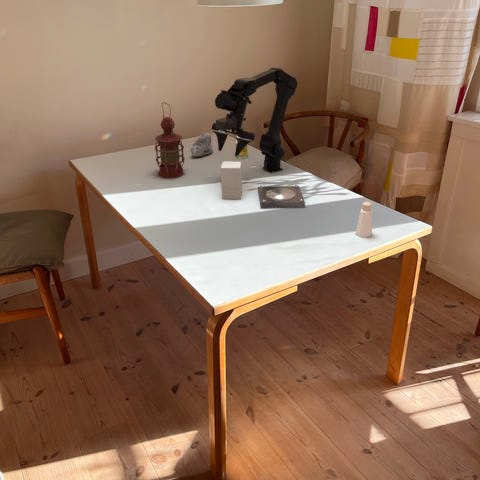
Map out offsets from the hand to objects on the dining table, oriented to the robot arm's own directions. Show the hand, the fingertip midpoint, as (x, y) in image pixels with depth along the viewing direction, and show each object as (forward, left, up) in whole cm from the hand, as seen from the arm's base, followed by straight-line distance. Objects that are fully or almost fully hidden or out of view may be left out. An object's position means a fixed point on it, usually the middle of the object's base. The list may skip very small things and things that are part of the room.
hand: (227, 153), depth 203 cm
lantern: (+13, -25, -14) cm, 31 cm away
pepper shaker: (-16, +60, -14) cm, 64 cm away
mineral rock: (-10, -41, -14) cm, 44 cm away
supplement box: (+4, +9, -14) cm, 17 cm away
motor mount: (-10, +22, -13) cm, 28 cm away
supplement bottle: (-24, -28, -14) cm, 39 cm away
